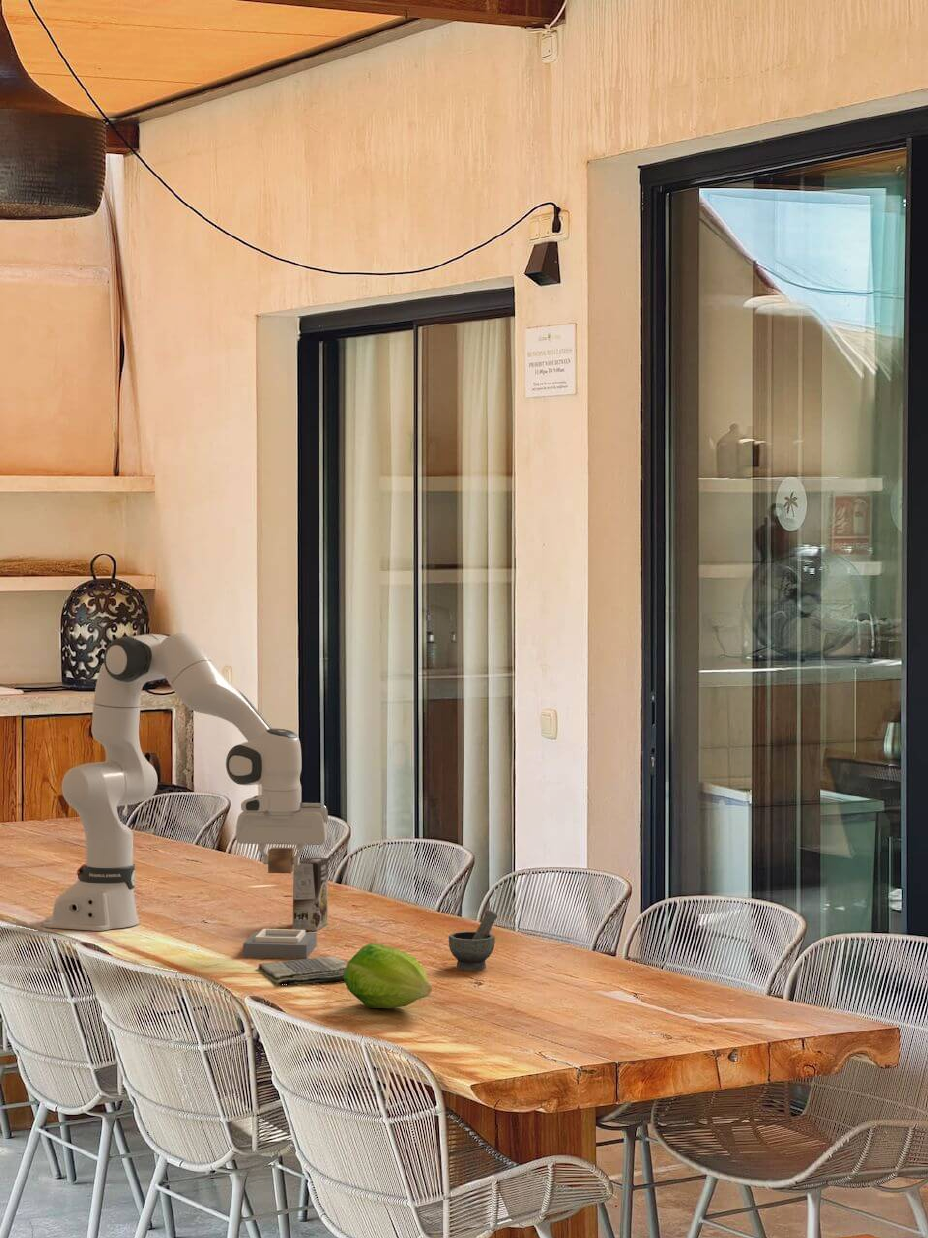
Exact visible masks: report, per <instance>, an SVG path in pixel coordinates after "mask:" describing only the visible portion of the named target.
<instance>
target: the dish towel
mask: <svg viewBox="0 0 928 1238" xmlns="http://www.w3.org/2000/svg"><path fill="white" fill-rule="evenodd" d="M347 963H348V962H347V961H344V960H342V959H340V958H338V957H335V956H320V957H319V956H318V957H314V958H313V957H312V958H307V959H292V960H289V959H288V960H283V961H274V962H271V961H270V962H266V963H265V962H264V963H263V962H262V963H259V964H258V970H259V971H260V972H261V973H262V974H263V975H264V976H265V975H266V976H265V977H266V978H267V979H268V980H269V979H270V980H269V981H271V982H272V983H273V984H274V985H276V986H277V987H279V986H280V985H282V984H283V985H284V984H287V986H288V985H290V986H299V985H298V984H309V985H314V984H313V983H315V984H317V983H319V984H321V985H323V984H324V983H325V984H337V982H340V983H342V982H341V981H343V982H345V980H344V974H345V970H346V967H347ZM280 987H281V986H280Z"/></svg>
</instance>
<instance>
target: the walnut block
mask: <svg viewBox="0 0 928 1238" xmlns="http://www.w3.org/2000/svg"><path fill="white" fill-rule="evenodd" d="M267 856H268V864H267V873H268V874H293V871H294V865H292V857H293V856H295V847H277V846H276V847H275V846H274V847H271V848H270V849H268V850H267Z"/></svg>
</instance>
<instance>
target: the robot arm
mask: <svg viewBox="0 0 928 1238" xmlns="http://www.w3.org/2000/svg"><path fill="white" fill-rule="evenodd" d="M165 680H167V682H168V684H169V685H170V687H171V689H172V690H173V692H174V694H176V696H177V698H178V699H179V700H180V702H182V703H183V704H184V705H185V706H186V707H187V708H188V709H189V710H190V711H193V712H196V713H199V714H204V715H208V716H213V717H217V718H219V719H222V720H225V721H227V722H229V723H231V724H232V725H233V726H234V727H235V728H237V729H238V731H239V732H240V733H241V735H242V736H243V737H244V738H245V739H246V741H245V742H242V743H240V744H236V745H234V746H233V747H231V748H230V750H229V751H228V754H227V755H226V760H225V768H226V772H227V775H228V776H229V778H230V780H232V782H233V783H235V784H236V785H240V786H253V785H261V794H259V795H254V796H253V797H249V798H247V799H244V800H243V801H242V802H241V804H240V808H241V812H240V813H239V814H238V817H237V821H236V826H235V840H236V842H237V843H238V844H239V845H240V844H242V845H244V844H245V845H246V844H247V845H257V846H258V847H257V849H258V851H259V853H260V855H261V857H262V863H263V865H268V853H267V852H266V850H265V849H266V848H267V845H296V850H298V851H297V854H296V855H294V856H293V857H292V865H299V860H300V857H301V855H302V853H303V852H304V850H305V849H306V848H305V846H322V845H324V844H325V843H326V841H327V840H328V835H327V834H328V831H327V830H328V829H327V824H326V822H328V819H329V818H328V817H329V812H328V808H327V806H325V805H323V804H322V803H320V802H314V803H313V802H302V784H301V781H300V779H301V774H302V746H301V741H300V738H299V736H298V734H297V733H295V732H294V731H292V730H289V729H284V728H273V727H272V726H271V724H269V722H268V721H267V719H265V718H264V717H263V715H262V714H261V713H260V711H259V710H258V709H257V708H256V707H255V706H254V704H253V702H251V701H250V700H249V699H248V698H247V696H245V695H244V693H242V692H241V691H240V690H239V689H237V687H235V686H234V685H233V684H232V683H231V682H230V681H229V680H228V679H227V678H226V677H225V676H224V675H223V674H222V672H221V671H220V670H219V668H217V666H216V665H215V663H214V662H213V660H212V659H211V657H210V656H209V655H208V654H207V652H206V651H205V649H204V648H202V646H201V645H200V644H199V643H198V642H197V641H196V640H195V639H194V638H192V636H191V635H189V634H187V633H183V632H177V633H172V634H167V633H164V634H159V633H158V634H157V633H145V634H140V635H139V634H138V635H133V636H127V635H126V636H125V635H124V636H122V637H118V638H116V639H114V640H112V641H111V642H110V643H109V644H108V645H107V647H106V648H105V650H104V655H103V663H102V664H101V666H100V668H99V673H98V675H97V680H96V683H95V690H94V695H93V696H94V697H93V703H92V704H93V705H92V707H93V708H92V715H91V716H92V717H91V718H92V719H91V730H90V731H91V735H92V738H93V739H94V741H96V742H98V743H99V744H100V745H102V746H103V748H104V752H105V761H96V762H87V763H83V764H80V765H77V766H75V767H72V768H69V770H67V771H66V772H65V773H64V776H63V778H62V781H61V794H62V796H63V798H64V800H65V802H66V803H67V804H68V806H70V807H72V809H74V810H75V812H76V814H78V816H79V819H80V821H81V822H82V826H83V829H84V836H85V862H86V863H83V864H82V865H80V867H79V868H78V869H77V870H76V876H77V878H78V880H77V881H76V882H75V883H73V884H72V885H71V886H69V887H68V888H67V889H66V890H64V891H63V892H62V893H61V894H60V895H59V896H57V898H56V899H55V901H54V905H53V910H52V915H50V916H47V917H45V918H44V919H43V922H42V926H43V928H51V929H52V928H54V929H66V930H68V929H69V930H82V931H94V932H95V931H96V932H101V931H108V930H113V929H115V930H116V929H124V928H129V927H134V926H136V925H139V924H140V921H141V920H140V918H139V915H138V911H137V906H136V897H135V887H136V864H135V863H134V833H133V831H132V829H131V828H130V827H129V826H128V825H126V824H124V823H122V821H121V820H120V817H119V815H118V807H122V806H131V805H137V804H139V803H141V802H144V801H146V800H149V799H151V798H152V797H153V796H154V795H155V793H156V792H157V789H158V774H157V771H156V769H155V767H153V764H151V763H150V762H149V761H148V760H147V758H146V757H145V755H144V753H143V750H142V747H141V742H140V721H141V719H140V717H141V716H140V715H141V705H142V690H143V687H144V686H145V684H146V683H149V682H153V681H154V682H159V681H165Z"/></svg>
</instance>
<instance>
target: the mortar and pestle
mask: <svg viewBox="0 0 928 1238" xmlns="http://www.w3.org/2000/svg"><path fill="white" fill-rule="evenodd" d="M497 918H498V914H497V913H495V912H494V911H492V910H488V909H487V910H484V917H483V919H482V920H481V922H480V924H479V926H478V927H477V929H476V931H459V932H453V933H451V934H449V935H448V946H449V950H450V952H451V954H452V956H453V957H454V958H455V959H456V960H457V963H456V969H458V970H460V971H466V972H478V971H483V970H485V969H487V964H486V961H487V959H489V958H490V956H491V955H492V953H493V951H494V948H495V943H496V942H495V940H496V939H495V935H493V934H492V933H491V932H492V928H493V925H494V922H495V920H496V919H497Z"/></svg>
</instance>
